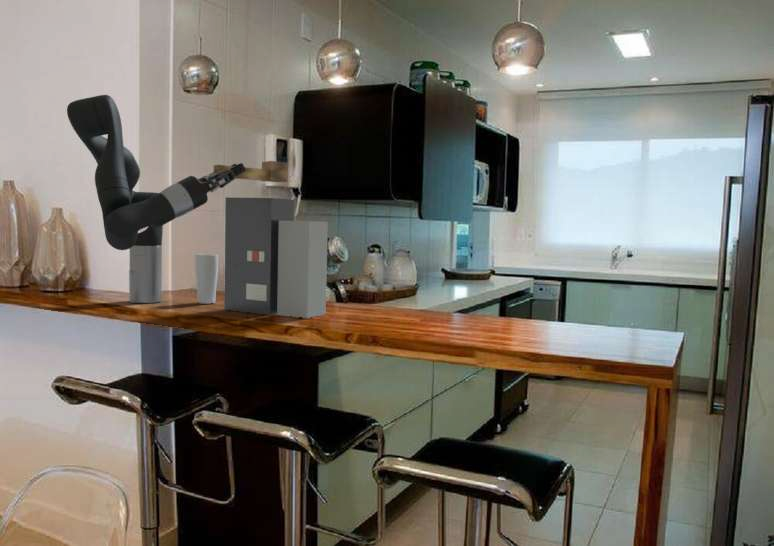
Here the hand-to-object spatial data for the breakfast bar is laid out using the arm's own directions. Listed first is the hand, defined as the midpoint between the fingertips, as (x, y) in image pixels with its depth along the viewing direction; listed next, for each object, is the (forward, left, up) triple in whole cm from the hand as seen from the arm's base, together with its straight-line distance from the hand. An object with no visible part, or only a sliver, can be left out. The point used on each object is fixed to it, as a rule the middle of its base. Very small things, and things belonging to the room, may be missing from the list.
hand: (240, 167), depth 165 cm
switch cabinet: (+9, +15, -39) cm, 43 cm away
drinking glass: (-3, +34, -40) cm, 52 cm away
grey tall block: (+18, +4, -39) cm, 44 cm away
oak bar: (+2, +1, -3) cm, 4 cm away
